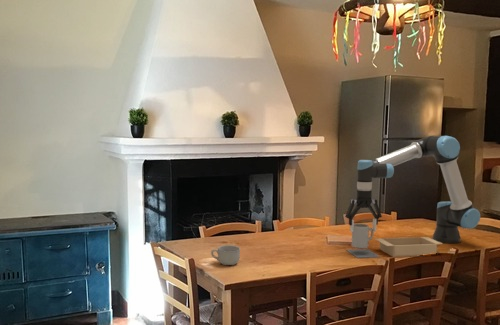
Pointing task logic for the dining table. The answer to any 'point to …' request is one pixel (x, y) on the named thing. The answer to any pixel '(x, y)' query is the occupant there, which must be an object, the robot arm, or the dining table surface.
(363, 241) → the mug
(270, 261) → the dining table surface
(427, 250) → the beige tray
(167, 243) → the dining table surface
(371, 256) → the coaster mat
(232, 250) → the teacup
